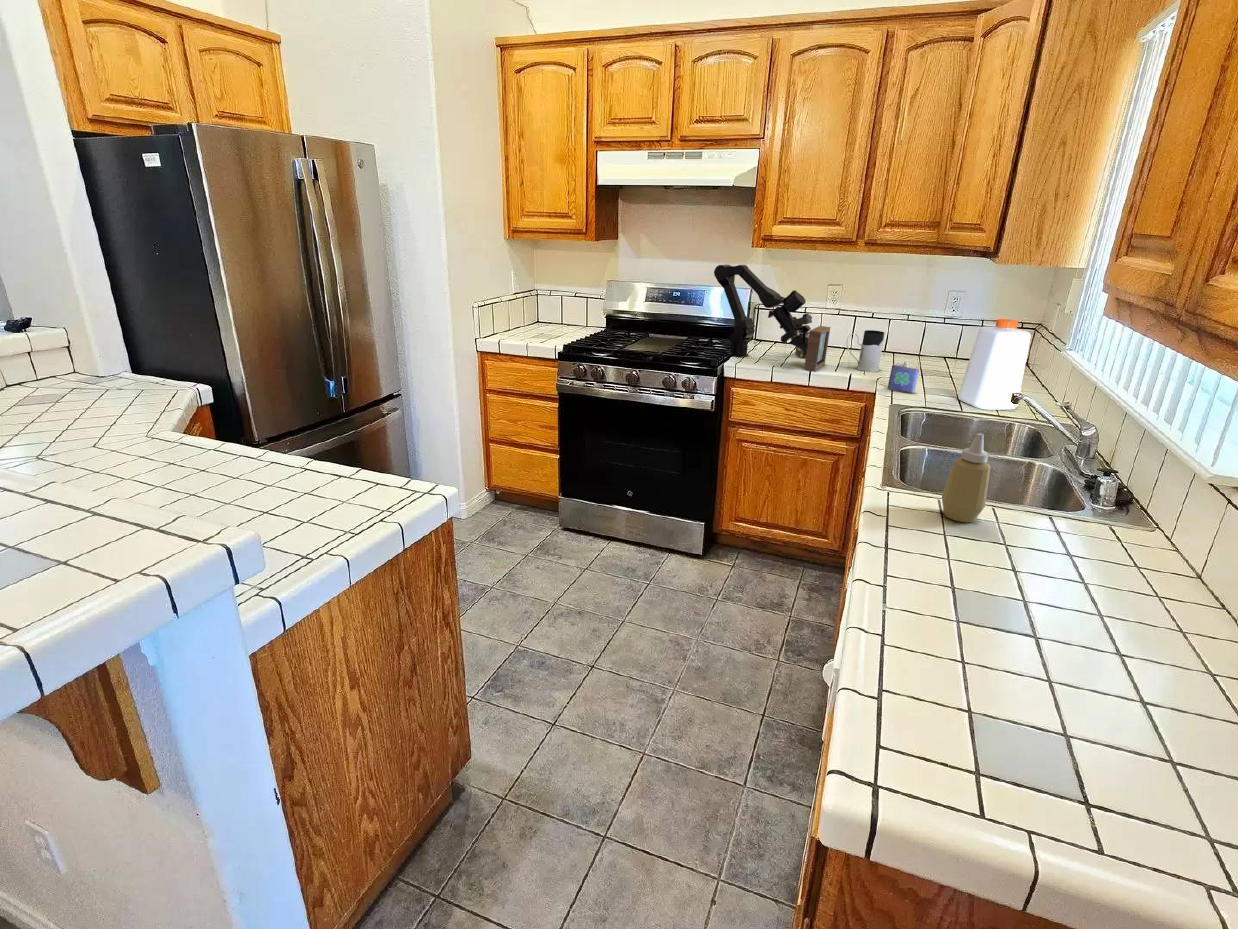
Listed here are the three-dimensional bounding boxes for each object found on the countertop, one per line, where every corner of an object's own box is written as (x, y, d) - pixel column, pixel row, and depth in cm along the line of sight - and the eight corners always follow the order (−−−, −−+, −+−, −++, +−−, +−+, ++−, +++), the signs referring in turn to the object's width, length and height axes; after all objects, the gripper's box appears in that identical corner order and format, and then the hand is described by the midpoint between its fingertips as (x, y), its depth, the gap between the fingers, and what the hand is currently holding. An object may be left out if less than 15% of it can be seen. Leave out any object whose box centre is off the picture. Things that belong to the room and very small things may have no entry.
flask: (915, 392, 229) (921, 362, 225) (912, 394, 227) (919, 363, 223) (888, 387, 234) (894, 358, 230) (886, 389, 232) (891, 359, 228)
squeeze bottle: (933, 517, 133) (953, 434, 126) (942, 505, 139) (962, 425, 132) (976, 529, 128) (999, 444, 122) (984, 516, 134) (1006, 434, 128)
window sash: (810, 363, 257) (815, 335, 253) (799, 361, 259) (803, 333, 255) (814, 361, 262) (818, 333, 257) (803, 359, 264) (807, 331, 259)
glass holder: (880, 372, 257) (887, 334, 251) (843, 369, 260) (849, 331, 254) (877, 367, 265) (884, 330, 259) (841, 364, 268) (847, 328, 262)
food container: (815, 359, 276) (819, 335, 272) (801, 358, 276) (804, 335, 272) (808, 353, 287) (811, 330, 284) (794, 352, 287) (797, 330, 284)
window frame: (815, 371, 254) (821, 331, 249) (803, 369, 256) (809, 330, 251) (824, 364, 267) (830, 327, 261) (814, 363, 269) (819, 325, 263)
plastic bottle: (991, 398, 226) (1012, 316, 216) (1022, 410, 212) (1046, 324, 202) (951, 398, 223) (971, 316, 213) (980, 411, 210) (1003, 323, 199)
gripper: (792, 308, 248) (816, 341, 246) (809, 304, 262) (832, 335, 260) (770, 327, 255) (793, 359, 253) (788, 321, 269) (810, 352, 267)
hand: (808, 351), depth 258 cm, fingers closed on window sash
